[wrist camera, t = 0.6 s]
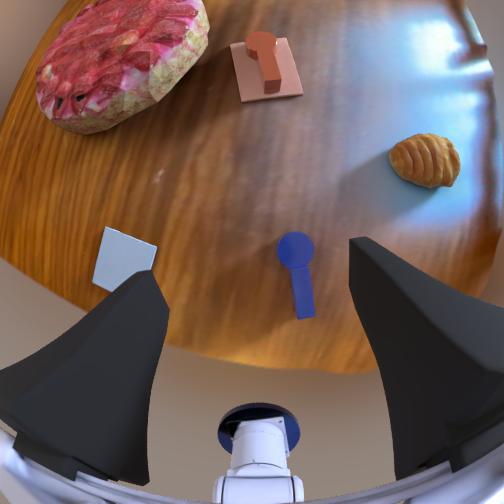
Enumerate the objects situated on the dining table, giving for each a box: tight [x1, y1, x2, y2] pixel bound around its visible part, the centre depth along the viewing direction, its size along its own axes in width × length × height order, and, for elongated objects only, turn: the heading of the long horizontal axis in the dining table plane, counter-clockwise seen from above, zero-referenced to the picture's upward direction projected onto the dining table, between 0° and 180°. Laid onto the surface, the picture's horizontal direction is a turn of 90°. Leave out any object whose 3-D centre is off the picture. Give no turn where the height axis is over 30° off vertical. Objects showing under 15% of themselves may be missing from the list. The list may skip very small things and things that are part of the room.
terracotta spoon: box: [245, 31, 282, 94], centre depth 25 cm, size 8×4×3 cm, turn 10°
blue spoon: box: [276, 232, 315, 320], centre depth 27 cm, size 8×4×3 cm, turn 10°
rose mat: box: [230, 38, 303, 102], centre depth 27 cm, size 9×7×1 cm
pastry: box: [389, 133, 460, 188], centre depth 25 cm, size 9×7×4 cm
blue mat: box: [92, 227, 157, 292], centre depth 29 cm, size 7×7×1 cm
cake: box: [36, 0, 210, 135], centre depth 23 cm, size 25×25×8 cm
